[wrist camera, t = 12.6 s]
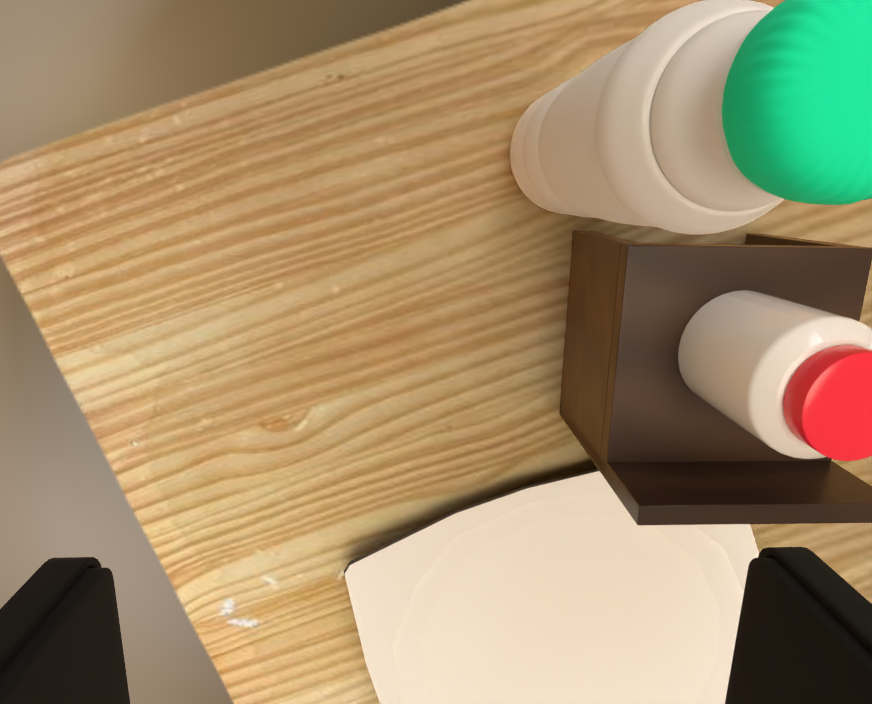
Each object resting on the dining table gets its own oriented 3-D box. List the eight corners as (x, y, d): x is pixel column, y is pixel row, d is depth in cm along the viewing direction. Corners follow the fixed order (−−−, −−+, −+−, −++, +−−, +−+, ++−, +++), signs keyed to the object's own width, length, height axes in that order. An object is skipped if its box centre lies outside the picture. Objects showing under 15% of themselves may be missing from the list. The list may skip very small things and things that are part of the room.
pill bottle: (692, 421, 31) (795, 503, 23) (664, 314, 30) (764, 362, 21) (804, 382, 31) (947, 451, 23) (782, 272, 29) (927, 304, 21)
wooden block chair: (573, 230, 38) (668, 254, 24) (761, 233, 38) (957, 258, 25) (559, 414, 41) (637, 526, 27) (734, 414, 42) (894, 522, 28)
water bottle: (623, 83, 36) (1084, -135, 12) (626, 206, 38) (1027, 241, 13) (503, 95, 36) (717, -100, 11) (511, 219, 37) (711, 277, 13)
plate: (724, 414, 41) (745, 429, 39) (781, 735, 49) (802, 765, 46) (321, 533, 42) (316, 556, 40) (438, 831, 50) (441, 867, 47)
